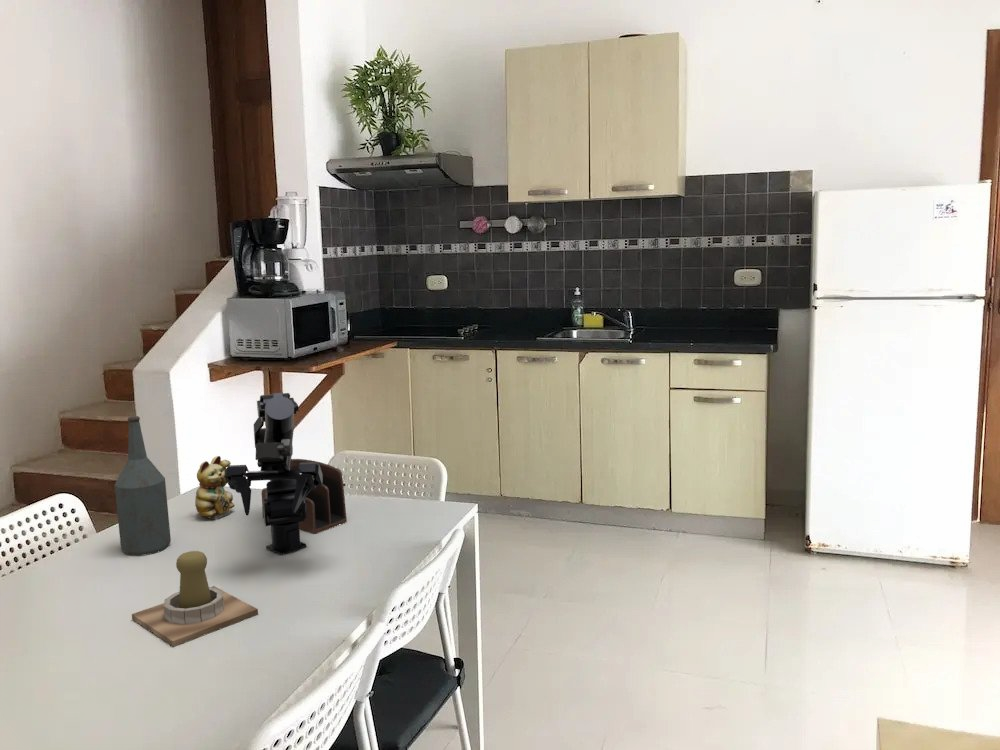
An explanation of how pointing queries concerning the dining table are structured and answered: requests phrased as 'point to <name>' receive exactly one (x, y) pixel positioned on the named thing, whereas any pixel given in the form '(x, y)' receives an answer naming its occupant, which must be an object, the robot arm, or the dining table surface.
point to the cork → (193, 580)
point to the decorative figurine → (213, 490)
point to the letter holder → (322, 500)
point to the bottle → (141, 500)
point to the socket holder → (193, 617)
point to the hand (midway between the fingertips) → (270, 513)
